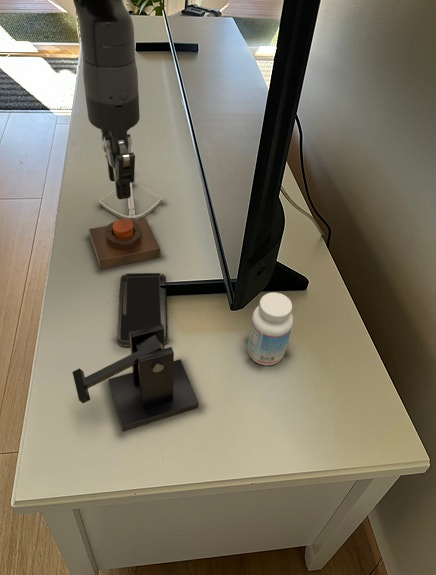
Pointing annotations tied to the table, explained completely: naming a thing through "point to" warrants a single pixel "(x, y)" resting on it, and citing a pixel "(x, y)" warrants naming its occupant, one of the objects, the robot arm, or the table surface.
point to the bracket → (151, 384)
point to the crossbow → (131, 207)
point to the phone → (141, 304)
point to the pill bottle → (270, 329)
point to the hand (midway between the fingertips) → (119, 188)
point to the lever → (113, 368)
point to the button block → (124, 245)
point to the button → (123, 228)
